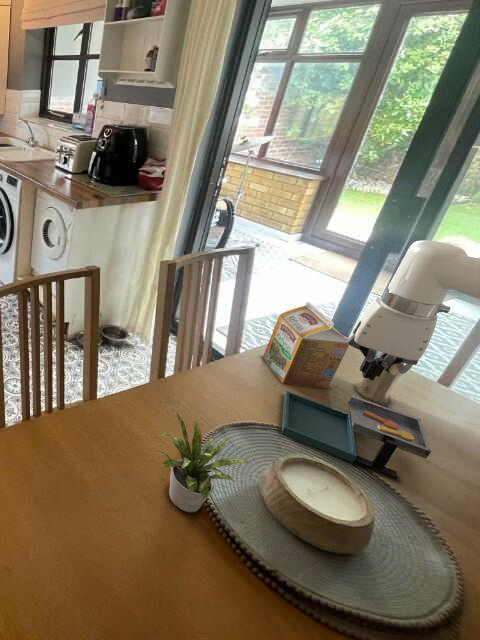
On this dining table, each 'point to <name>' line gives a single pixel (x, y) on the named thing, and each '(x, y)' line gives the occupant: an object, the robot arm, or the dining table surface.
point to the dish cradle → (381, 458)
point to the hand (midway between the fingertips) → (367, 375)
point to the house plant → (194, 470)
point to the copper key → (382, 420)
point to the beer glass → (383, 382)
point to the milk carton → (305, 347)
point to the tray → (318, 426)
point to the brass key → (397, 432)
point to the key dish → (370, 429)
